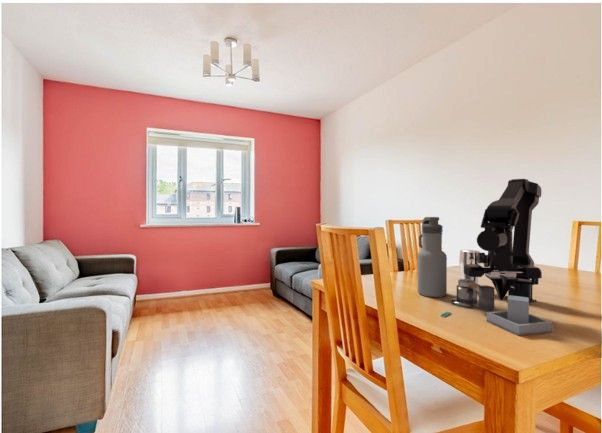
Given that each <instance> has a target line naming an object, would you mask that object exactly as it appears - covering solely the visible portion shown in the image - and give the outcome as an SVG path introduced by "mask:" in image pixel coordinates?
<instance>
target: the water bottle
mask: <svg viewBox="0 0 602 433" xmlns="http://www.w3.org/2000/svg"><path fill="white" fill-rule="evenodd" d="M439 221H440V217H439V216H425V217H424V218H423V219H422V224H421V234H420V235H419V236H418V246H419V248H421V250H419V252H418V253H417V282H416V283H417V285H416V286H417V293H418V294H419V295H421V296H424V297H429V298H442V297H445V296H446V295H447V291H448V290H447V289H448V288H447V284H448V283H447V278H448V277H447V272H448V271H447V266H448V265H447V264H448V262H447V261H448V260H447V259H448V257H447V253H446V252H444V251H443V248H442V246H443V245H442V244H443V241H442V237H443V228H444V227H443V225H441V224H439Z"/></svg>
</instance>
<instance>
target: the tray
mask: <svg viewBox="0 0 602 433" xmlns="http://www.w3.org/2000/svg"><path fill="white" fill-rule="evenodd" d="M507 319H508V309H506V310H499V311H497V310H496V311H487V312H486V322H487V323H489V324H491V325H494V326H496V327H498V328H501V329H502V330H504V331H507V332H509V333H512V334H513V335H516V336H518V337H520V336H529V335H531V336H532V335H539V334H546V333H547V334H548V333H553V322H552V321H549V320H548V319H544V318H541V317H539V316H536V315H533V314H531V313H529V323H527V324H517V323H514V322H512V321H509V320H507Z"/></svg>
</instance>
